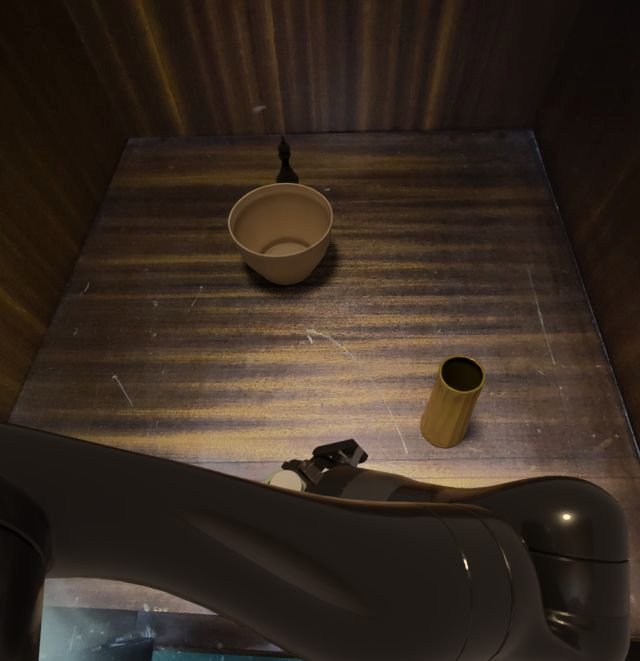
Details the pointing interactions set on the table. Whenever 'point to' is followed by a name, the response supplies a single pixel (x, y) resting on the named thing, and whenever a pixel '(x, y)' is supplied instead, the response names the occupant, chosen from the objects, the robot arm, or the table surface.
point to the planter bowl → (282, 230)
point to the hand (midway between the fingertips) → (274, 488)
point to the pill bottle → (288, 480)
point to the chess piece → (285, 165)
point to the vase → (452, 400)
